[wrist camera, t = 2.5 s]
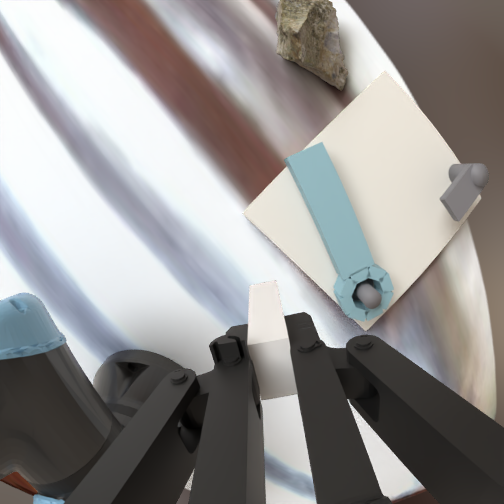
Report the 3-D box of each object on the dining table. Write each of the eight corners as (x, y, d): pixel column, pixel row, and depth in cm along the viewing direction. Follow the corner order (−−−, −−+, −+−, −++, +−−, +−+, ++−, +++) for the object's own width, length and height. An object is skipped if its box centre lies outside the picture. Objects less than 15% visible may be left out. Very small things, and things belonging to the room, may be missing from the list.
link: (389, 295, 31) (398, 304, 28) (345, 319, 31) (351, 329, 29) (325, 140, 27) (332, 137, 25) (274, 164, 28) (276, 162, 26)
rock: (355, 90, 26) (298, 57, 19) (306, 96, 31) (243, 73, 24) (347, 6, 24) (293, -39, 17) (303, 17, 28) (244, -18, 21)
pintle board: (362, 326, 33) (380, 352, 28) (242, 212, 30) (240, 219, 25) (475, 197, 30) (506, 201, 24) (380, 73, 27) (404, 55, 21)
